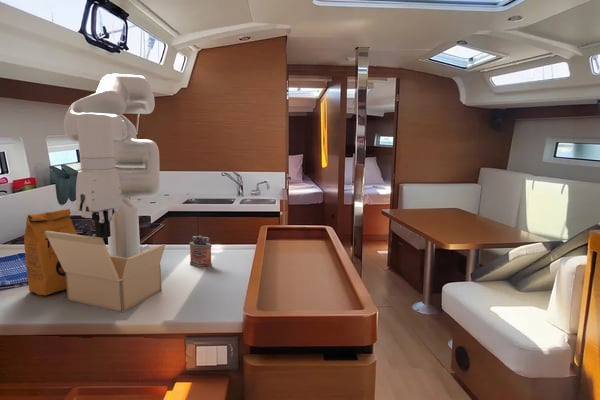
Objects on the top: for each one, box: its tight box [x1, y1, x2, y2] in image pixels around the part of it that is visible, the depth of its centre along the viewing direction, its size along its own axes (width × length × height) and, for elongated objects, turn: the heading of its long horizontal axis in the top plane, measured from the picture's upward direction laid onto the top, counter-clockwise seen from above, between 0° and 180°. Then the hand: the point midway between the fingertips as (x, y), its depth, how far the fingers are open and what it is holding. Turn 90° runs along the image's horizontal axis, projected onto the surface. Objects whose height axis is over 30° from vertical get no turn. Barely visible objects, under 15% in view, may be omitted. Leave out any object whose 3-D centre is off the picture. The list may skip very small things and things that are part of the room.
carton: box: [65, 237, 166, 313], centre depth 100 cm, size 14×22×14 cm, turn 71°
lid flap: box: [45, 231, 120, 281], centre depth 91 cm, size 12×17×1 cm
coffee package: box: [23, 208, 78, 296], centre depth 104 cm, size 10×12×22 cm
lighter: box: [188, 235, 213, 268], centre depth 126 cm, size 8×3×10 cm, turn 68°
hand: (103, 236), depth 96 cm, fingers closed
